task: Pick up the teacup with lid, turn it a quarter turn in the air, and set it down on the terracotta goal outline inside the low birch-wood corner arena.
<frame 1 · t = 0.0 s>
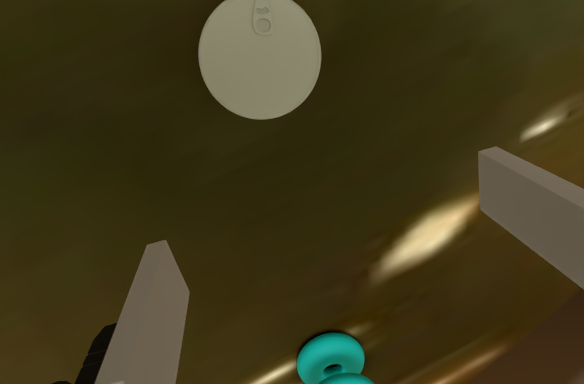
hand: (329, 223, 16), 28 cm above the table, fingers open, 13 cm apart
donuts: (328, 353, 58), on the table
can: (253, 48, 39), on the table
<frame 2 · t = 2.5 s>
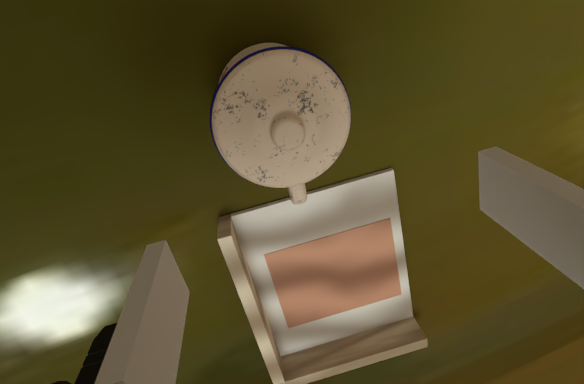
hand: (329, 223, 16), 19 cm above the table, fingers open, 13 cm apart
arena: (326, 274, 41), on the table
teacup with lid: (273, 113, 33), on the table
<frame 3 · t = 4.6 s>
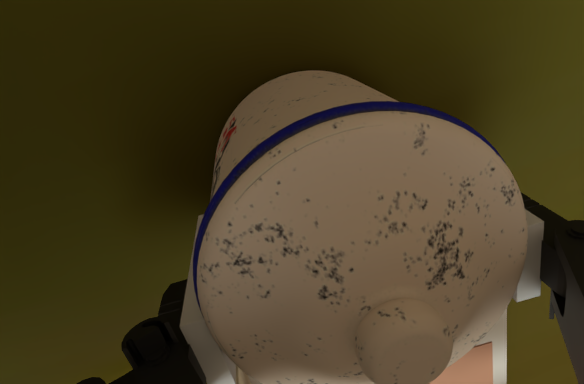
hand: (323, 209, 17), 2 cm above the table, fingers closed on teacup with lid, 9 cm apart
teacup with lid: (313, 189, 19), on the table, touching gripper
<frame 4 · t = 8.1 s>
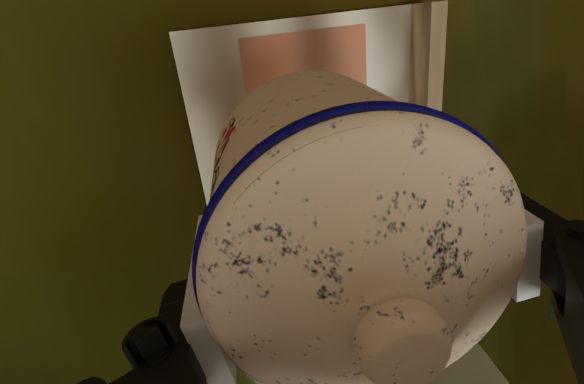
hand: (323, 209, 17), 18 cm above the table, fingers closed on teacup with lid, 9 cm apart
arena: (309, 123, 34), on the table
can: (426, 336, 47), on the table
teacup with lid: (313, 189, 19), point 16 cm above the table, touching gripper
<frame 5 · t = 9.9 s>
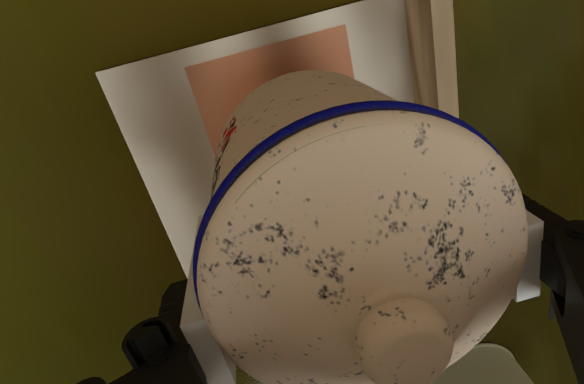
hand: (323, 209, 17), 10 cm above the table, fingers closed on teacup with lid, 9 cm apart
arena: (292, 156, 27), on the table
can: (469, 375, 39), on the table
teacup with lid: (314, 189, 19), point 8 cm above the table, touching gripper
when the fingers open (4 cm above the table, at t = 11.6 s): teacup with lid drops 1 cm, resting on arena.
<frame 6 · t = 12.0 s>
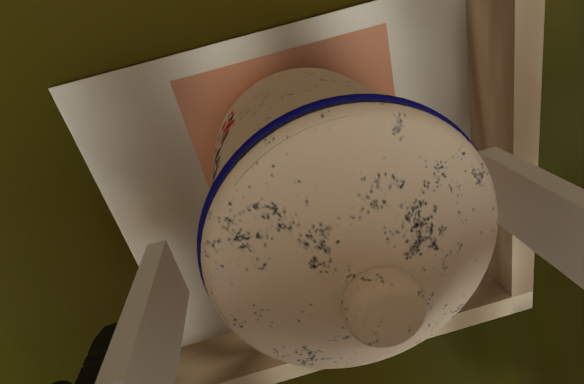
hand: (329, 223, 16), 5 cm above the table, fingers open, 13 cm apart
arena: (311, 192, 21), on the table
teacup with lid: (308, 180, 20), point 1 cm above the table, touching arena
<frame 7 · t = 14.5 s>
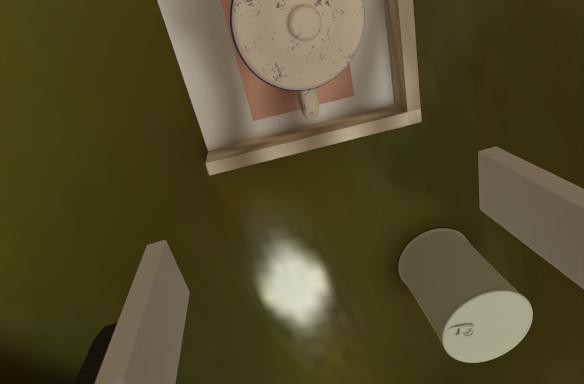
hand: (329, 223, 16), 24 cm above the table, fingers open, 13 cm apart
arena: (290, 48, 35), on the table
can: (433, 259, 48), on the table
teacup with lid: (288, 37, 34), point 1 cm above the table, touching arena
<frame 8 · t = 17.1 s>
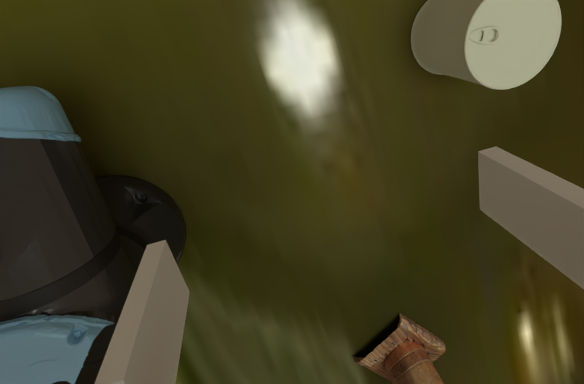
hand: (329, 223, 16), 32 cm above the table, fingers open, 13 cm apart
bird sculpture: (396, 346, 65), on the table
can: (447, 33, 45), on the table
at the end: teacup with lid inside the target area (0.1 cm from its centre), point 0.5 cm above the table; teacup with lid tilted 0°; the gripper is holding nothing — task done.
